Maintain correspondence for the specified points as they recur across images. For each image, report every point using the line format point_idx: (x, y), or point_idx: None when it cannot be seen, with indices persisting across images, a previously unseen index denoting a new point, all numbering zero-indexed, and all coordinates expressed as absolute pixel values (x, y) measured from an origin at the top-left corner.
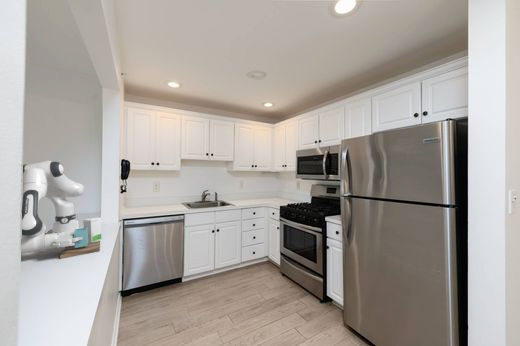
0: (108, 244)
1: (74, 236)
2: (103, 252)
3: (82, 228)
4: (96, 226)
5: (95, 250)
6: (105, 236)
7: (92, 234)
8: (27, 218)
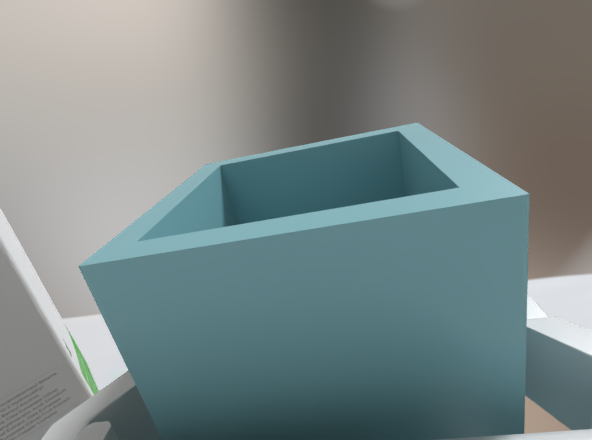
0: None
1: (523, 381)
2: (586, 304)
3: (200, 187)
4: (17, 243)
5: None
6: None
7: (68, 348)
8: None
